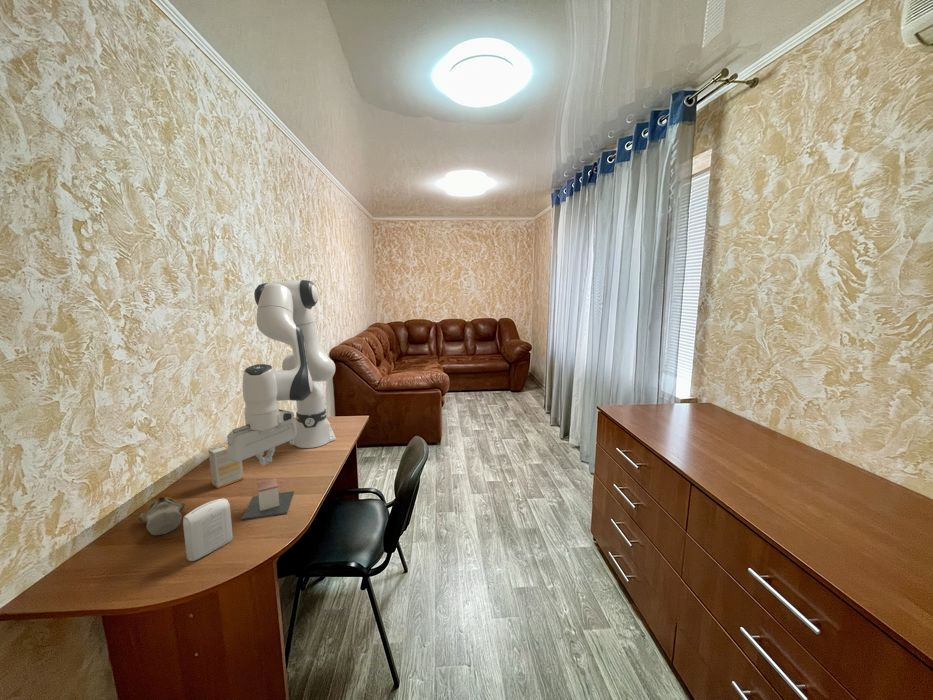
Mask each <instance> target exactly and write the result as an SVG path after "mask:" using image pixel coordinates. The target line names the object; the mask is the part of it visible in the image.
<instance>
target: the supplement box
mask: <svg viewBox="0 0 933 700" xmlns="http://www.w3.org/2000/svg"><path fill="white" fill-rule="evenodd" d="M227 450H228V442H227V443H224V444H221V445H218V446H214V447H211V448H208V457H209V467H210V473H211V474H210V475H211V484H212V485H213V486H214V487H215V488H217V489H221V488H224V487H226V486H229V485H231V484H233V483H237V482H239V481H241V480H244V470H243V460H242V461H240V462H234V461H231V460H230V459H228V455H227Z"/></svg>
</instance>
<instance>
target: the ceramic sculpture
mask: <svg viewBox="0 0 933 700" xmlns="http://www.w3.org/2000/svg"><path fill="white" fill-rule="evenodd" d="M185 506H186V503H183V502H182V500H179V501H178V502H176V500H174V499H173V498H171V497H160V498H158V499H157V500H154V501H153V502H151V503H150V504H149V505H148V507H147V509H146V512H139V514H138V517H137V520H138V522H139V523H141V524H146V530H147V532H149V533H150V534H151V535H153V536H160V535H161V536H162V535H166V534H168V533H171V532H172V531H174V530H176V529H177V528H178V527H179V526H180V523H181V521H182V520H183V515H182V514H181V512H182V511H183V510H184V509H185Z"/></svg>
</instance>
